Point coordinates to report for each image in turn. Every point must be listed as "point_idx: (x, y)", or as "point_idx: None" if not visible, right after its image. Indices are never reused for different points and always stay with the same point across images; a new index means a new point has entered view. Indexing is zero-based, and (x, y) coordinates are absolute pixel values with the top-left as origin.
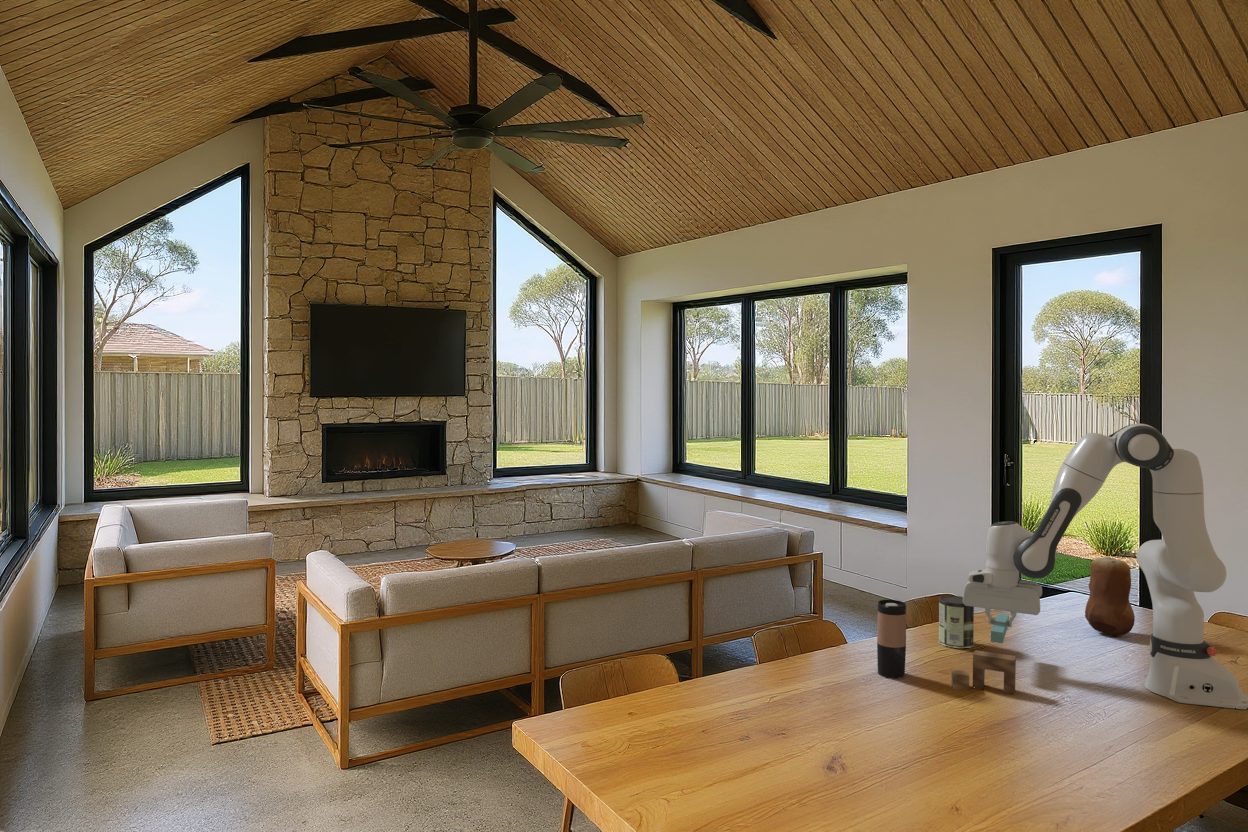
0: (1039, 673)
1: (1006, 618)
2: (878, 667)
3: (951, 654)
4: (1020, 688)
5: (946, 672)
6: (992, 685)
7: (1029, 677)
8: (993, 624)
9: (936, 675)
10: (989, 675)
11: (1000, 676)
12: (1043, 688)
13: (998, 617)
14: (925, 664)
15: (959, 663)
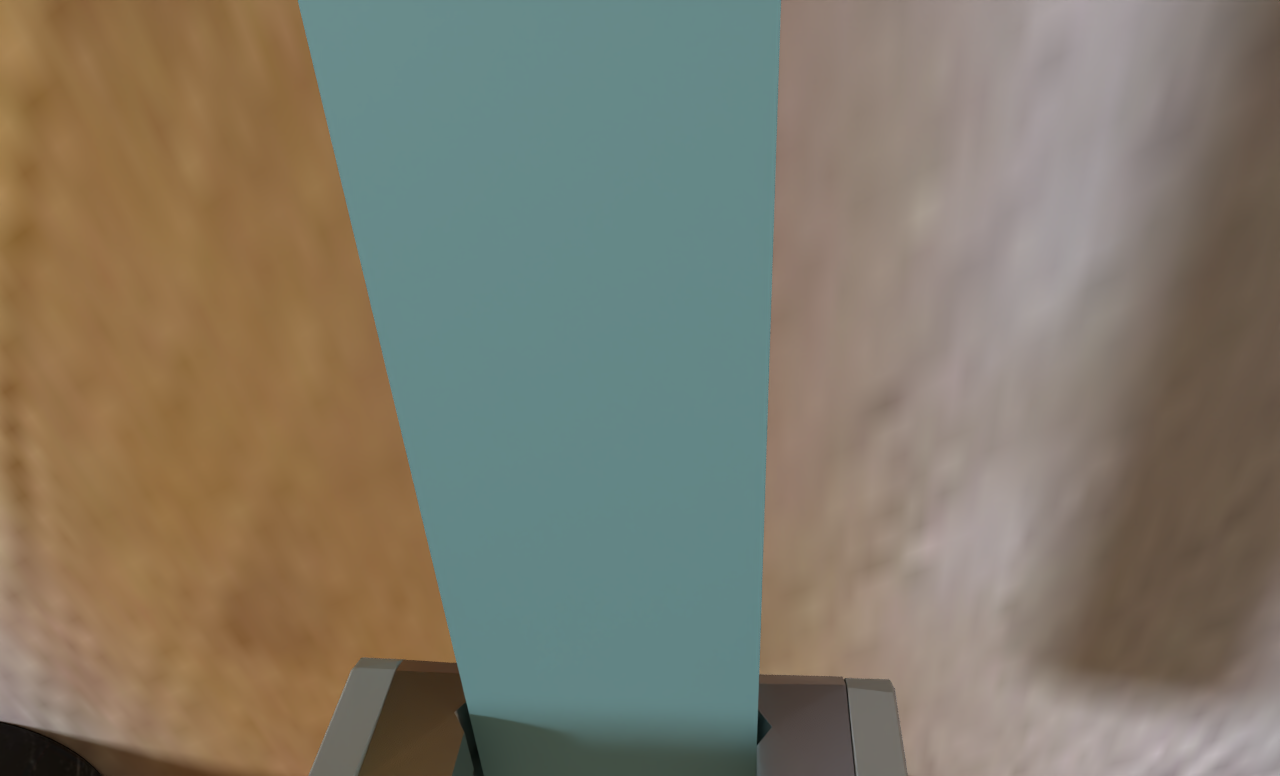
0: (1177, 296)
1: (728, 329)
2: None
3: (25, 59)
4: (905, 731)
5: (291, 629)
6: None
7: (1022, 473)
8: None
9: (262, 705)
10: None
11: None
12: (1110, 677)
13: (453, 346)
14: (49, 525)
15: (271, 364)
